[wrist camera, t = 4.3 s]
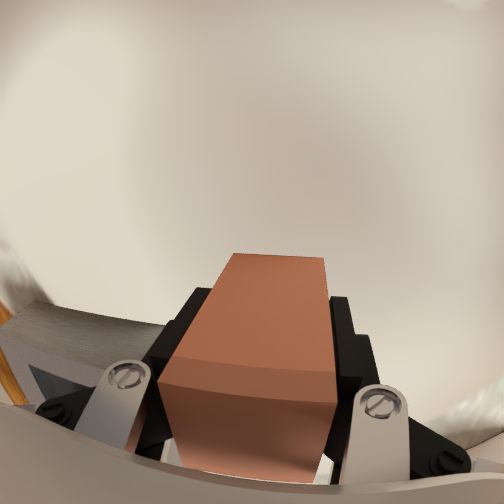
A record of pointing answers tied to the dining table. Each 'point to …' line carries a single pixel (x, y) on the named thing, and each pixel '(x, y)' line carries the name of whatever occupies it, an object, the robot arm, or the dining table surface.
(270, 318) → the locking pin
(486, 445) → the medicine bottle
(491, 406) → the dining table surface
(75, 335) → the slotted block
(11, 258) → the dining table surface
